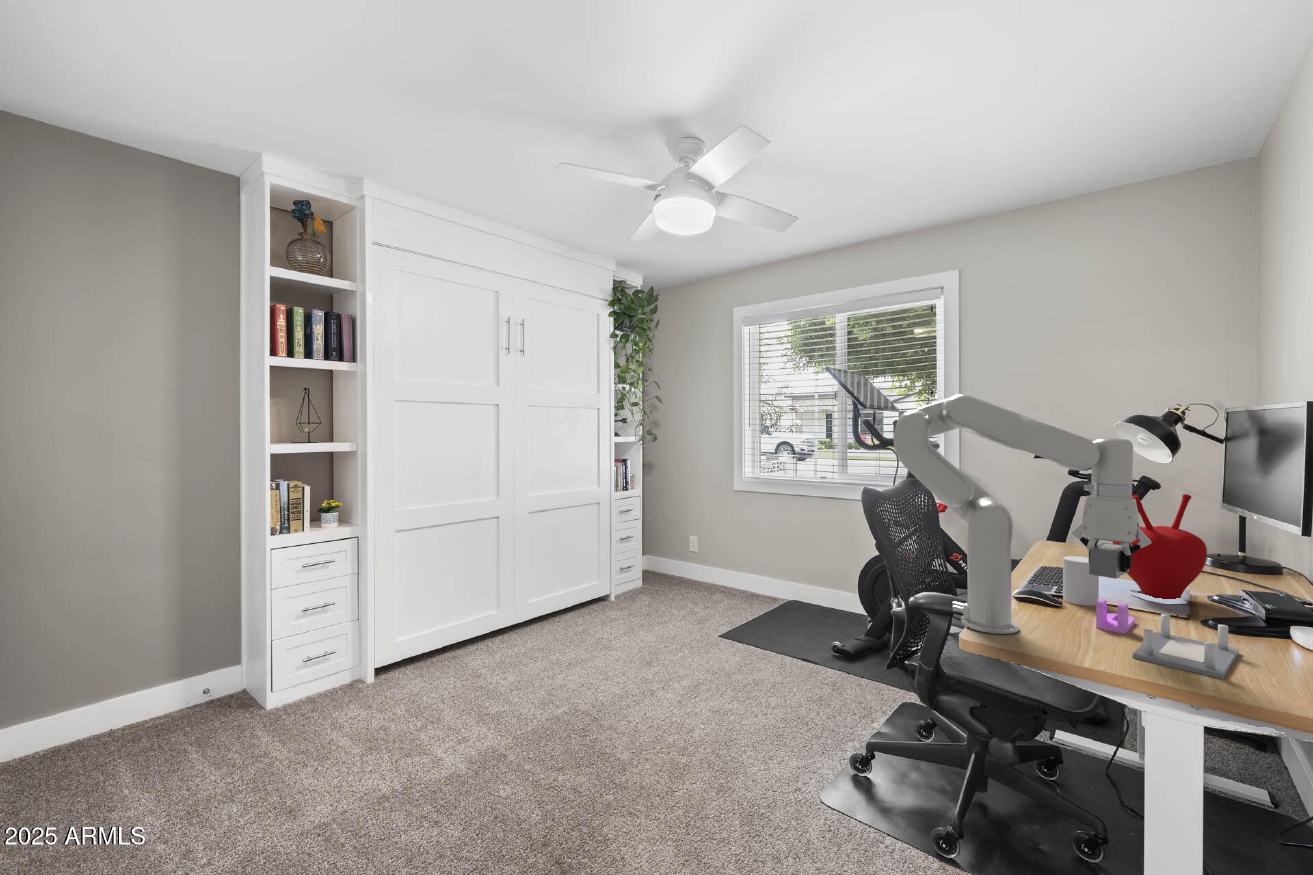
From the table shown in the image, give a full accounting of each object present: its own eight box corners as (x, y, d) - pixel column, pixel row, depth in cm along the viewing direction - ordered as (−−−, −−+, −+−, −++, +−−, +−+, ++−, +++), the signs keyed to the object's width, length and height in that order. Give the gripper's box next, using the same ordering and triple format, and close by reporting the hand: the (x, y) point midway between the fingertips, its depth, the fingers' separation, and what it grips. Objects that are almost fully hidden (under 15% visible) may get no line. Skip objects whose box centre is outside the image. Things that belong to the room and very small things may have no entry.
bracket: (1124, 634, 139) (1124, 605, 139) (1096, 628, 143) (1096, 600, 143) (1136, 622, 147) (1136, 595, 147) (1109, 617, 151) (1109, 590, 151)
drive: (1089, 574, 134) (1089, 547, 134) (1102, 567, 141) (1103, 542, 141) (1116, 578, 130) (1116, 551, 130) (1128, 571, 137) (1129, 545, 137)
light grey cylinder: (1105, 605, 160) (1105, 562, 160) (1076, 605, 161) (1076, 562, 160) (1084, 597, 169) (1084, 556, 168) (1056, 597, 169) (1056, 556, 169)
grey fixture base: (1132, 657, 125) (1132, 629, 125) (1155, 635, 137) (1155, 610, 137) (1222, 679, 114) (1222, 648, 114) (1238, 653, 126) (1238, 626, 126)
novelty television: (1173, 591, 173) (1173, 491, 172) (1218, 605, 160) (1218, 496, 159) (1107, 594, 171) (1107, 492, 171) (1147, 607, 158) (1147, 498, 158)
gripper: (1062, 489, 139) (1061, 564, 140) (1154, 496, 126) (1152, 579, 127) (1073, 487, 144) (1071, 559, 145) (1162, 493, 131) (1160, 573, 131)
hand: (1109, 568), depth 136 cm, fingers closed on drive, 5 cm apart
